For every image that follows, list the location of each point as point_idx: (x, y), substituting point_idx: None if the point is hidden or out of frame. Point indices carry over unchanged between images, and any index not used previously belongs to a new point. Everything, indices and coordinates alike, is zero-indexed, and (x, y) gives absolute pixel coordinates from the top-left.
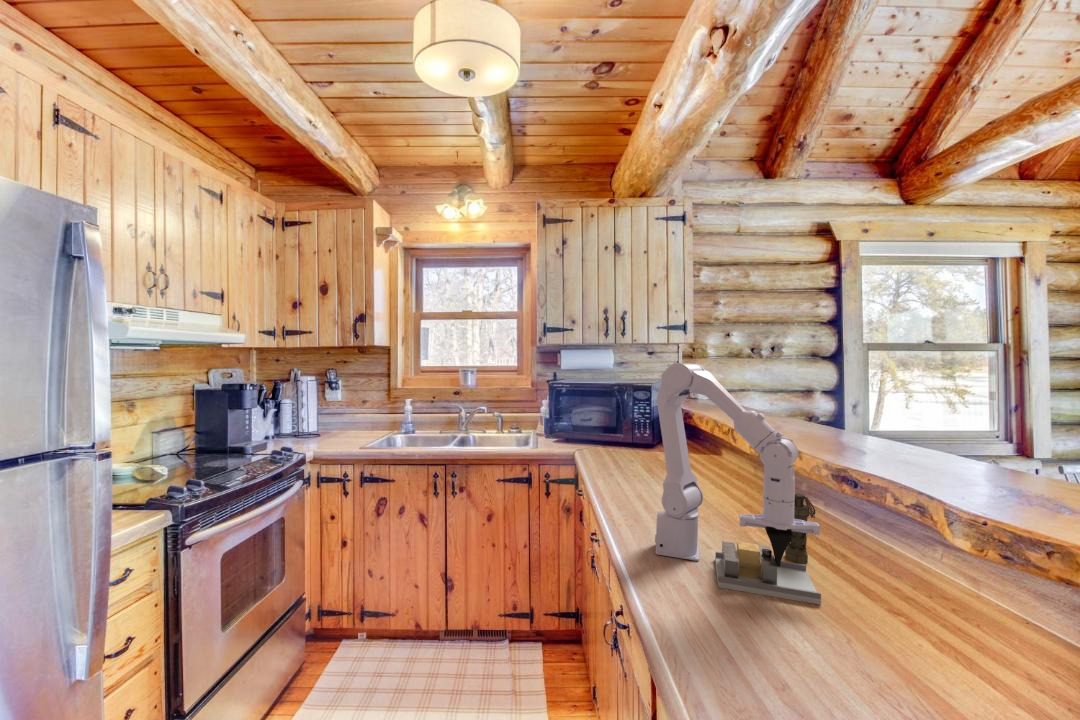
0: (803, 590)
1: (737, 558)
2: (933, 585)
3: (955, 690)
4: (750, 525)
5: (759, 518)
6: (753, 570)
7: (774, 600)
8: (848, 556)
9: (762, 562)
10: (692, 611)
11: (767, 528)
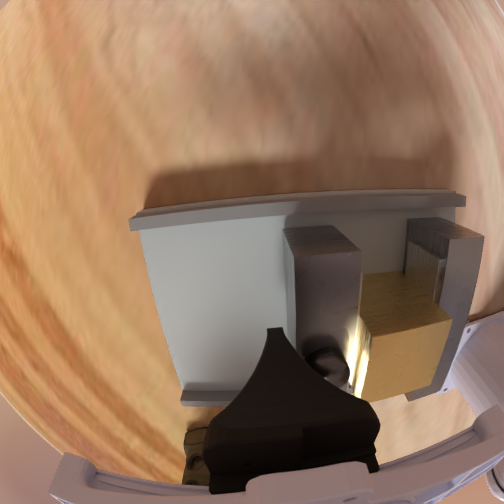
0: (185, 216)
1: (445, 277)
2: (14, 386)
3: (10, 20)
4: (452, 440)
5: (424, 499)
6: (364, 287)
7: (290, 165)
8: (123, 456)
9: (359, 281)
10: (472, 44)
11: (371, 464)
